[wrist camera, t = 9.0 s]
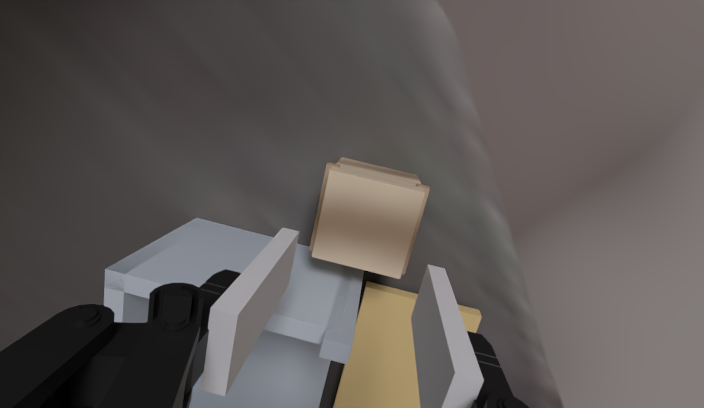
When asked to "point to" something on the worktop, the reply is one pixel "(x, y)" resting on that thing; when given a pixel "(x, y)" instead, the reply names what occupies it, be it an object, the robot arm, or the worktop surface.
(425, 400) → the robot arm
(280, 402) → the pale blue open box
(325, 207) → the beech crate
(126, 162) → the worktop surface
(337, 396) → the panel
